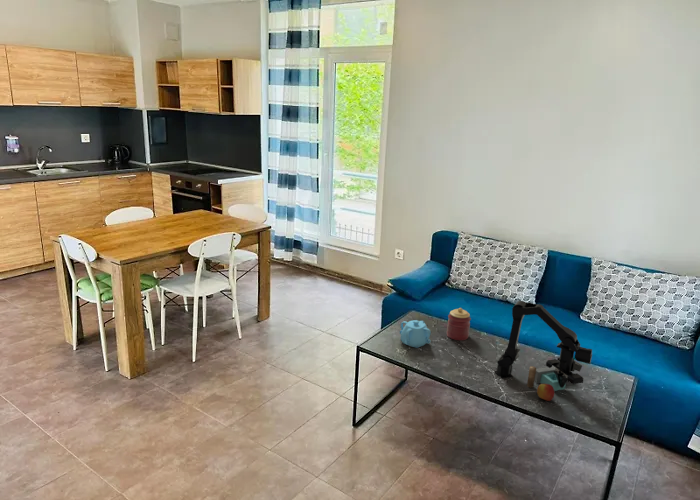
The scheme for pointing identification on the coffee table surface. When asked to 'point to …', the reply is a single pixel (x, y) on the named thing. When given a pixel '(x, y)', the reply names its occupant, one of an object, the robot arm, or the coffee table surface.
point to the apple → (545, 392)
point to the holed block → (551, 380)
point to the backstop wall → (542, 372)
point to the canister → (458, 324)
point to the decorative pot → (415, 333)
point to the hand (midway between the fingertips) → (561, 387)
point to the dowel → (531, 377)
